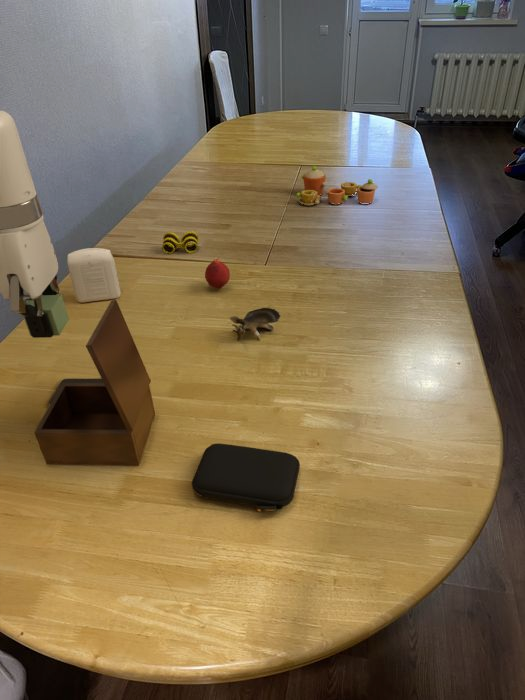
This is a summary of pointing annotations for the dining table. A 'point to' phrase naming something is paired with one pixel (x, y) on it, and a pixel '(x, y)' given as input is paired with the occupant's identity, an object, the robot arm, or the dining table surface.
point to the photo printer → (93, 274)
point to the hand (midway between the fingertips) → (49, 325)
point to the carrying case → (247, 476)
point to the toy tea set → (333, 189)
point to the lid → (119, 364)
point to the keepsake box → (91, 428)
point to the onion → (217, 274)
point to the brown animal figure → (255, 321)
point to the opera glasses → (173, 242)
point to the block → (53, 312)
